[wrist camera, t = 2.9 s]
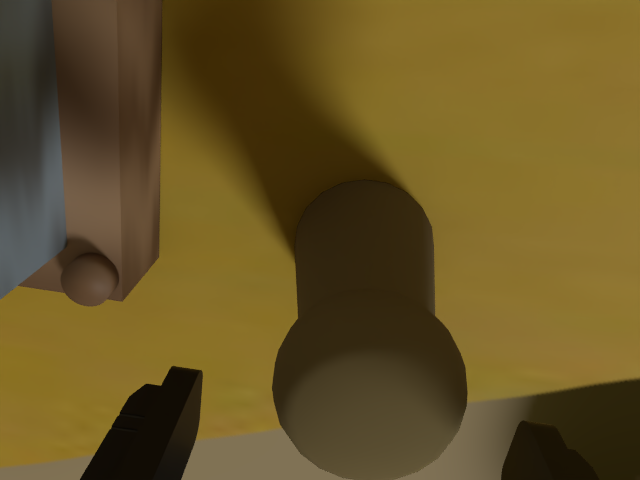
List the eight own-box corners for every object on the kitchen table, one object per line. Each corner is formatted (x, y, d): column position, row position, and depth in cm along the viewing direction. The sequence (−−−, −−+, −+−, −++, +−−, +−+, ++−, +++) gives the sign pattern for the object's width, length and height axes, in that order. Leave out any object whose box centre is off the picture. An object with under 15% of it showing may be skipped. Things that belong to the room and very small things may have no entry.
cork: (376, 329, 24) (392, 551, 14) (268, 259, 23) (200, 446, 13) (463, 232, 22) (554, 413, 12) (348, 151, 21) (341, 273, 11)
